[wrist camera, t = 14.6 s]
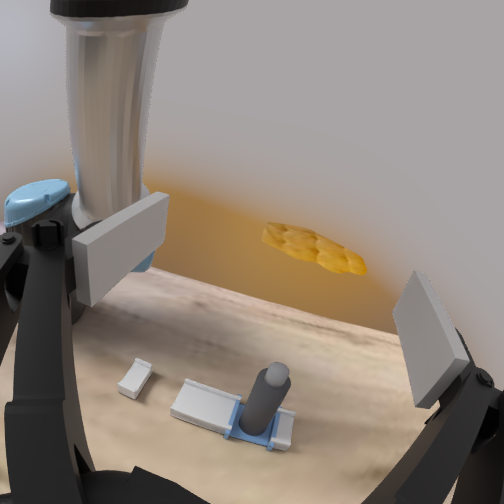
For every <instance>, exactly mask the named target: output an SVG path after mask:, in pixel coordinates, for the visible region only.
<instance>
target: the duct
mask: <svg viewBox="0 0 504 504" xmlns="http://www.w3.org/2000/svg"><path fill="white" fill-rule="evenodd" d="M134 361H135V363H134V364H133V365H132V367H131V368H130V370H129V371H128V372H127V374H126V375H125V377H124V378H123V380H122V381H121V382H120V381H119V382H118V384H117V385H118V392H120V393H122V394H124V395H126V396H128V397H130V398H132V399H134V400H135V399H136V397H137V396H138V394H139V393H140V391H141V389H142V388H143V386H144V385H145V383H146V381H147V380H148V378H149V377H150V375H151V374H152V364H150V363H148V362H146V361H143V360H141V359H139V358H135V360H134ZM241 397H242V395H239V394H238V396H237V395H233V394H230V393H227V392H224V391H221V390H218V389H215V388H212V387H209V386H207V385H204V384H201V383H198V382H196V381H193V380H190V379H187V378H186V379H185V381H184V385H183V387H182V389H181V391H180V392H179V394H178V396H177V398H176V400H175V402H174V404H173V405H172V406H171V409H170V415H171V416H174V417H176V418H179V419H181V420H184V421H187V422H189V423H192V424H195V425H198V426H200V427H203V428H206V429H209V430H212V431H215V432H218V433H221V434H224V437H223V438H225V439H228V437H229V436H232V437H235V438H238V439H242V440H245V441H249V442H252V443H256V444H260V445H264V446H267V449H266V450H268V451H271V450H272V448H275V449H279V450H283V451H287V449H288V448H289V447H290V446H291V442H290V440H291V434H292V428H293V422H294V417H295V415H296V412H294V411H290V410H286V409H282V407H280V406H279V408H278V410H277V411H276V413H275V415H274V417H273V418H272V420H271V422H270V423H269V425H268V427H267V428H266V430H265V432H264V433H263V434H261V435H259V436H250V435H247V434H245V433H244V432H243V431H242V430H241V429H240V427H239V420H240V417H241V415H242V413H243V410H244V408H245V405H243V404H239V403H240V401H241Z"/></svg>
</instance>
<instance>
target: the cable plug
mask: <svg viewBox="0 0 504 504" xmlns="http://www.w3.org/2000/svg"><path fill="white" fill-rule="evenodd" d="M288 375H289V369H288V367H287V366H286V365H284V364H283V363H279V362H275V363H272V364H271V365H270V366H269V368H266V369H263V370H262V371H260V372H259V374H258V376H257V379H256V381H255V384H254V386H253V389H252V391H251V393H250V396H249V398H248V401H247V403H246V405H245V408H244V410H243V413H242V415H241V417H240V420H239V427H240V429H241V430H242V431H243V432H244V433H245V434H247V435H250V436H259V435H261V434H263V433H264V432H265V430H266V428H267V427H268V425H269V423H270V422H271V420H272V418H273V417H274V415H275V413H276V411H277V410H278V408H279V406H280V404H281V403H282V401H283V399H284V397H285V396H286V394H287V392H288V390H289V388H290V386H291V381H290V378H289V377H288Z"/></svg>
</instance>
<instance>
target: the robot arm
mask: <svg viewBox="0 0 504 504" xmlns="http://www.w3.org/2000/svg"><path fill="white" fill-rule="evenodd" d="M187 4H188V0H51V3H50V15H51V16H52V17H53V18H55V19H56V20H57V21H59V22H60V23H62V24H63V25H64V26H66V90H67V106H68V119H69V130H70V139H71V147H72V155H73V162H74V169H75V175H76V181H77V187H78V191H77V193H70V187H69V184H68V182H66V181H63V180H61V179H49V180H43V181H38V182H34V183H31V184H28V185H25V186H23V187H20V188H18V189H17V190H15V191H14V192H12V193H11V194H10V195H9V196H8V198H7V199H6V201H5V205H4V216H5V222H4V226H5V228H6V233H4V234H2V235H0V365H1V363H2V360H3V357H4V354H5V352H6V349H7V347H8V344H9V342H10V339H11V337H12V334H13V332H14V329H15V327H16V325H17V323H18V322H19V324H18V331H17V340H16V351H15V364H14V385H13V400H12V402H7V403H6V405H5V412H4V423H5V445H6V457H7V467H8V475H9V482H10V489H11V493H7V494H1V495H0V504H210V503H208V502H207V501H205V500H203V499H201V498H200V497H198V496H196V495H195V494H193V493H191V492H190V491H188V490H186V489H185V488H183V487H182V486H180V485H178V484H177V483H175V482H173V481H170V480H168V479H165V478H163V477H160V476H158V475H155V474H153V473H151V472H148V471H146V470H144V469H142V468H139V467H137V466H135V467H134V469H133V471H132V473H129V472H124V471H115V470H103V471H96V470H95V467H94V464H93V461H92V458H91V455H90V452H89V449H88V446H87V441H86V437H85V432H84V427H83V422H82V416H81V410H80V404H79V398H78V391H77V384H76V375H75V366H74V356H73V343H72V324H74V323H75V322H76V321H77V320H78V319H79V318H80V316H81V315H82V313H83V311H84V306H85V305H87V306H89V307H91V308H92V307H93V306H94V305H95V304H96V303H97V302H98V301H99V300H100V299H101V298H102V297H103V296H104V295H105V294H107V293H108V292H109V291H110V290H111V289H112V288H113V287H114V286H115V285H116V284H117V283H118V282H120V281H121V280H122V279H123V278H124V277H125V276H126V275H127V274H128V273H130V272H145V271H146V270H148V269H149V267H150V266H151V263H152V260H153V257H154V253H155V249H157V248H158V247H159V246H160V245H161V244H162V243H163V242H164V237H165V228H166V220H167V212H168V203H169V197H170V195H168V194H165V193H161V192H155V193H153V194H151V195H150V193H149V190H148V189H147V188H146V186H145V185H144V184H143V183H142V176H143V164H144V151H145V141H146V131H147V122H148V114H149V106H150V98H151V92H152V85H153V78H154V72H155V67H156V61H157V55H158V50H159V45H160V40H161V35H162V30H163V26H164V23H165V22H166V21H167V20H168V19H170V18H171V17H173V16H175V15H176V14H178V13H180V12H181V11H183V10H184V9H185V8H186V6H187ZM392 314H393V317H394V320H395V324H396V328H397V331H398V335H399V339H400V343H401V347H402V351H403V355H404V359H405V363H406V367H407V371H408V376H409V380H410V385H411V390H412V395H413V400H414V405H415V407H418V408H425V409H430V408H431V407H432V406H433V405H434V404H435V402H436V401H437V400H438V399H439V403H440V407H439V408H438V409H437V411H436V412H435V413H434V414H433V415H432V416H431V417H430V418H429V419H428V420H427V421H426V422H425V423H424V424H427V425H426V426H425V428H424V429H423V430H422V432H421V433H420V435H419V436H418V437H417V439H416V440H415V442H414V443H413V444H412V446H411V447H410V448H409V449H408V451H407V452H406V453H405V455H404V456H403V457H402V458H401V460H400V461H399V462H398V463H397V465H396V466H395V467H394V468H393V469H392V471H391V472H390V473H389V474H388V475H387V476H386V478H385V479H384V480H383V481H382V482H381V483H380V484H379V485H378V487H377V488H376V489H375V490H374V491H373V492H372V493H371V494H370V495H369V496H368V497H367V498H366V499H365V500H364V501H363V502H362V503H361V504H443V502H444V500H445V499H446V497H447V495H448V494H449V492H450V490H451V488H452V487H453V485H454V483H455V481H456V479H457V477H458V475H459V477H458V481H457V484H456V488H455V492H454V495H453V498H452V502H451V504H504V390H503V391H500V390H498V389H496V388H494V382H493V379H492V378H491V376H490V375H489V374H488V373H487V372H486V371H485V370H483V369H481V368H478V367H476V366H475V364H474V361H473V359H472V357H471V355H470V352H469V351H468V348H467V346H466V344H465V342H464V340H463V337H462V335H461V334H460V333H459V332H458V330H457V329H456V328H455V327H454V325H453V323H452V321H451V319H450V317H449V316H448V313H447V312H446V310H445V308H444V306H443V304H442V302H441V300H440V298H439V296H438V294H437V293H436V291H435V289H434V287H433V285H432V284H431V282H430V280H429V279H428V277H427V275H426V274H425V273H422V272H419V271H417V270H414V271H413V273H412V275H411V277H410V279H409V281H408V283H407V285H406V287H405V289H404V291H403V293H402V295H401V297H400V299H399V300H398V302H397V304H396V306H395V308H394V310H393V311H392Z"/></svg>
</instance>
